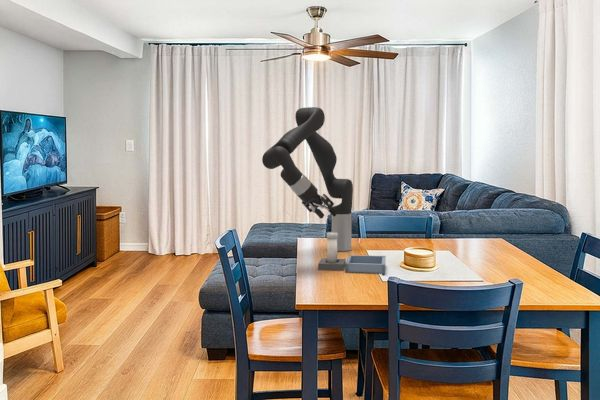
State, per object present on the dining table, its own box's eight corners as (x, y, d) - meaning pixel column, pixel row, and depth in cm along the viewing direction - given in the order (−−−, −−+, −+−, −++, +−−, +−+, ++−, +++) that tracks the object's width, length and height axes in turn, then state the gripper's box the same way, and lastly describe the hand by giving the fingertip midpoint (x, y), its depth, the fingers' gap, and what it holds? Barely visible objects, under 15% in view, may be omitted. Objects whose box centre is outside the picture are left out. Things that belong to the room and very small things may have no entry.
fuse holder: (321, 265, 236) (321, 258, 236) (345, 266, 234) (345, 258, 234) (318, 271, 226) (318, 263, 226) (343, 271, 225) (343, 264, 224)
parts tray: (348, 264, 237) (348, 254, 237) (385, 265, 235) (385, 255, 234) (345, 273, 222) (345, 263, 221) (384, 275, 219) (384, 264, 219)
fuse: (327, 265, 233) (327, 231, 231) (338, 266, 232) (338, 232, 230) (326, 268, 229) (325, 233, 227) (337, 268, 228) (337, 234, 226)
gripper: (318, 178, 218) (345, 207, 224) (297, 183, 230) (323, 210, 235) (308, 192, 215) (335, 221, 220) (287, 196, 226) (313, 224, 232)
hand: (329, 215), depth 228 cm, fingers open, 8 cm apart
